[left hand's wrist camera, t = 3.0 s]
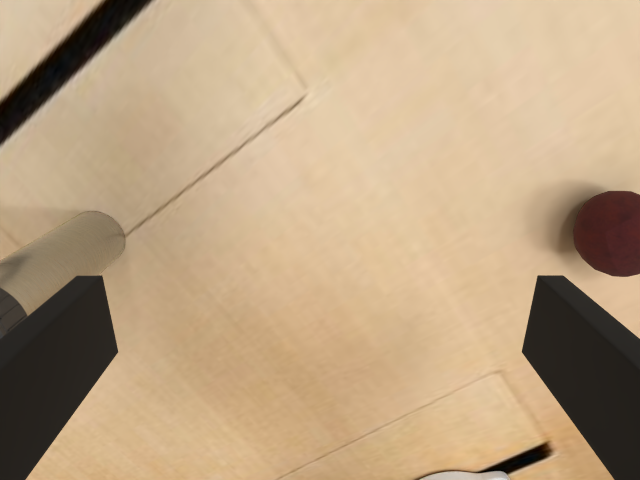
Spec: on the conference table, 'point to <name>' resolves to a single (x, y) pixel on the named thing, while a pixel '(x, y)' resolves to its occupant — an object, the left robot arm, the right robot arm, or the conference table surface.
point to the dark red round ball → (610, 233)
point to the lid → (9, 312)
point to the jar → (61, 258)
